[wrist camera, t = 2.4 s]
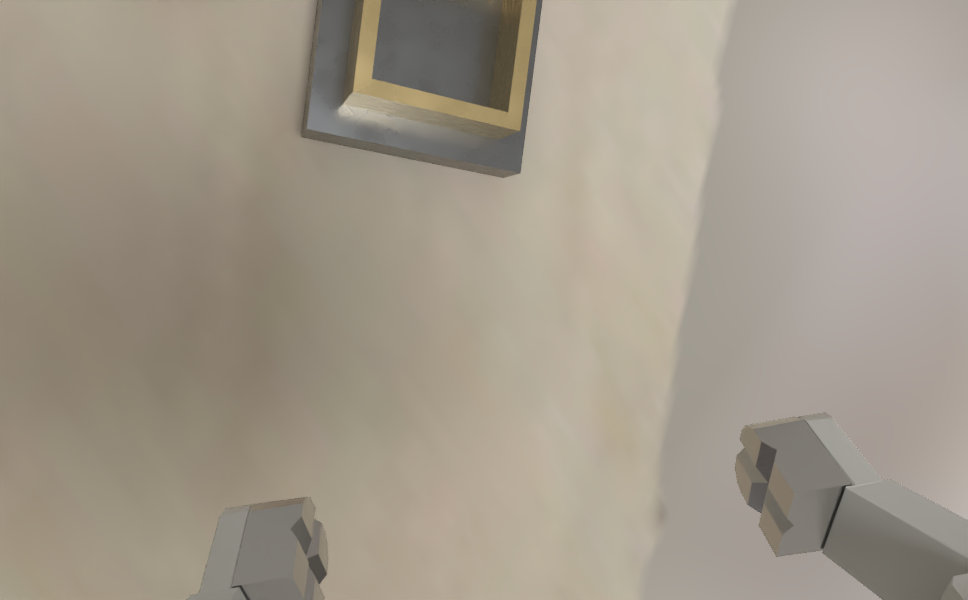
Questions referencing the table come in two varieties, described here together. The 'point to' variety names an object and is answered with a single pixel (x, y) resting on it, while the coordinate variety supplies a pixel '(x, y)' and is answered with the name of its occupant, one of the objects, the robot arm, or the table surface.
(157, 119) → the table surface
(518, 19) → the grey square holder
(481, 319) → the table surface
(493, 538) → the table surface
